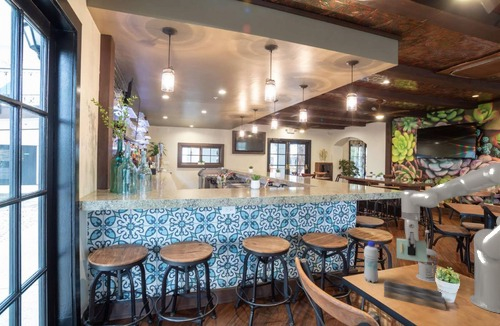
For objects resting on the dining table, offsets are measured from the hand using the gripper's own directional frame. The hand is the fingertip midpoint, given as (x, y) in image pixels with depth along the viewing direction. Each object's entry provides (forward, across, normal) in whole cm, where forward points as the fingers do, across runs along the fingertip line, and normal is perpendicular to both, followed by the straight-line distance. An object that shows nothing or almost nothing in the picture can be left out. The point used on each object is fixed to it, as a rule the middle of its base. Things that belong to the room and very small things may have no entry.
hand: (411, 253), depth 122 cm
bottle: (+16, -3, +18) cm, 24 cm away
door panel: (+3, 0, 0) cm, 3 cm away
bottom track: (+16, -11, +1) cm, 19 cm away
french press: (+16, +15, -8) cm, 24 cm away
